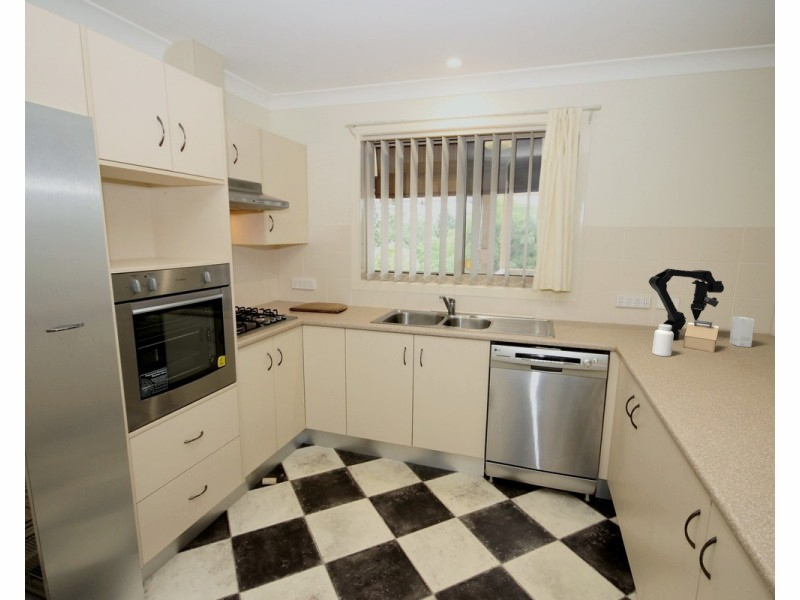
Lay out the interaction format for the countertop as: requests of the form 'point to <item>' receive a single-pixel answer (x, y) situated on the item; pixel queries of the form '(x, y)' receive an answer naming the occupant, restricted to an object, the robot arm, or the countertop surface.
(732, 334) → the skincare box
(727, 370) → the countertop surface
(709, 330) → the beige handled lid
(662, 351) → the pill bottle
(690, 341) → the wooden drawer
